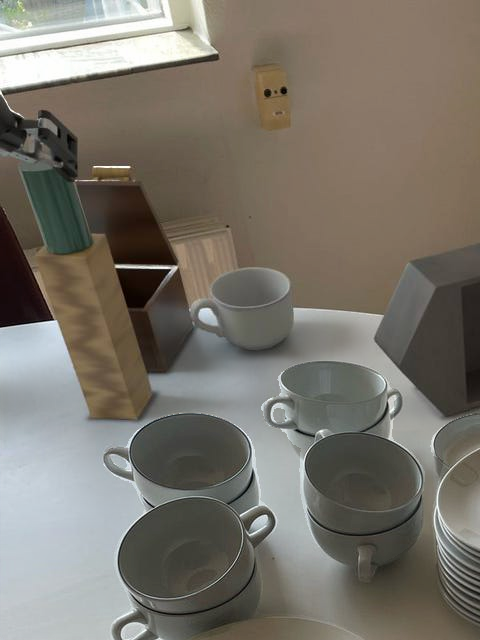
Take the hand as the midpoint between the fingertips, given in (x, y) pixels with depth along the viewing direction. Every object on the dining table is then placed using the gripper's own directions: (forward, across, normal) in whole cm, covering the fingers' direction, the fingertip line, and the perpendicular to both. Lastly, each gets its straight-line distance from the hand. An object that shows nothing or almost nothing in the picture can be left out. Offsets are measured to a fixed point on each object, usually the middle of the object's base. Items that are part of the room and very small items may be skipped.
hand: (32, 173), depth 105 cm
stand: (+23, 0, +19) cm, 30 cm away
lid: (+25, +1, -5) cm, 26 cm away
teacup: (+35, -13, +8) cm, 38 cm away
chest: (+34, +2, +9) cm, 35 cm away
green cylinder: (+8, 0, +4) cm, 9 cm away
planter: (+16, -35, +14) cm, 41 cm away
